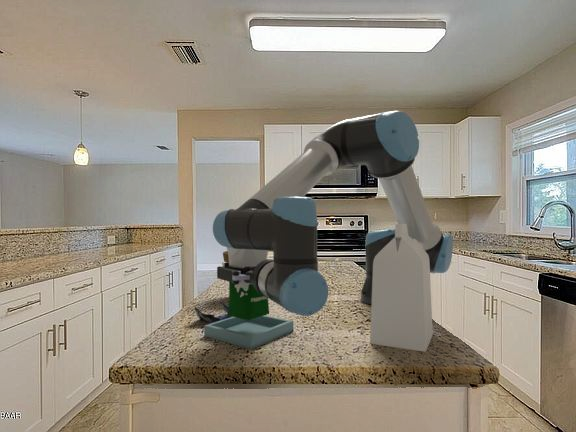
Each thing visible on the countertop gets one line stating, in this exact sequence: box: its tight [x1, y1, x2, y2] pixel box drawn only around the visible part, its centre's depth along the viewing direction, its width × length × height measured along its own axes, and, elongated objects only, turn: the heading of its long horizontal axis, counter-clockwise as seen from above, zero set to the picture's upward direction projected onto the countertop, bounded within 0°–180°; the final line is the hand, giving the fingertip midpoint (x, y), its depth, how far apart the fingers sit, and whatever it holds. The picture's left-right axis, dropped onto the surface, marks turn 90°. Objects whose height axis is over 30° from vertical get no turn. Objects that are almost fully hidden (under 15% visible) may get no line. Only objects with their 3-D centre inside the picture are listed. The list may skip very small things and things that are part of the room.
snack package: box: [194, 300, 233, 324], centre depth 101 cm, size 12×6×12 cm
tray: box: [203, 315, 294, 350], centre depth 90 cm, size 15×15×2 cm
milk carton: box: [226, 247, 270, 320], centre depth 90 cm, size 9×9×20 cm
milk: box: [369, 223, 434, 353], centre depth 85 cm, size 12×12×26 cm
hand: (242, 266), depth 94 cm, fingers closed on milk carton, 9 cm apart
